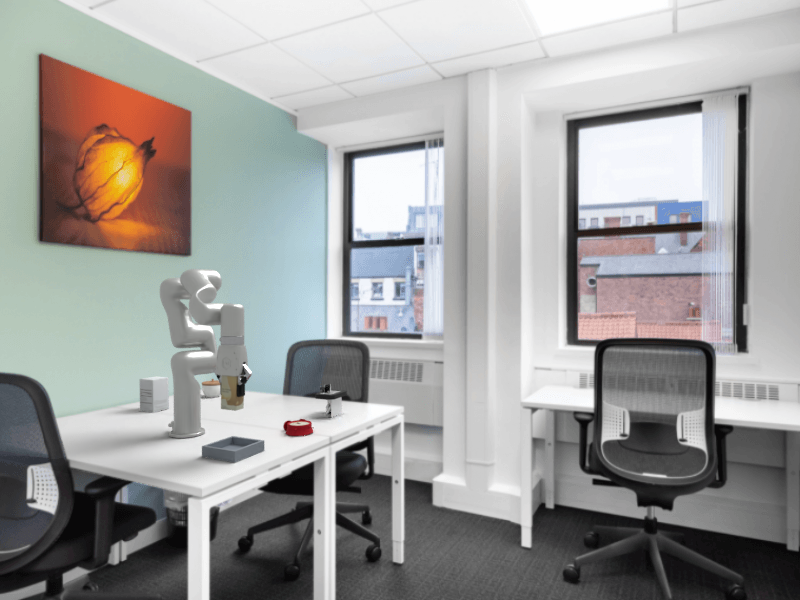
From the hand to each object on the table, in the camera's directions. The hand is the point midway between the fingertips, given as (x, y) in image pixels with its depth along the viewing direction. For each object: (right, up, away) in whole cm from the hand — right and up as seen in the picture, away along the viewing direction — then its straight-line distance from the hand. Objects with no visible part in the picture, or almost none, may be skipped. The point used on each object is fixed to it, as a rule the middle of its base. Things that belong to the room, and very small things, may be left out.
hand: (232, 394), depth 175 cm
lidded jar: (-43, -19, +101) cm, 111 cm away
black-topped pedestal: (+24, -20, +58) cm, 66 cm away
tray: (0, -20, 0) cm, 20 cm away
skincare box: (0, -5, 0) cm, 5 cm away
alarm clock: (+16, -20, +28) cm, 38 cm away
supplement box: (-58, -20, +69) cm, 92 cm away
